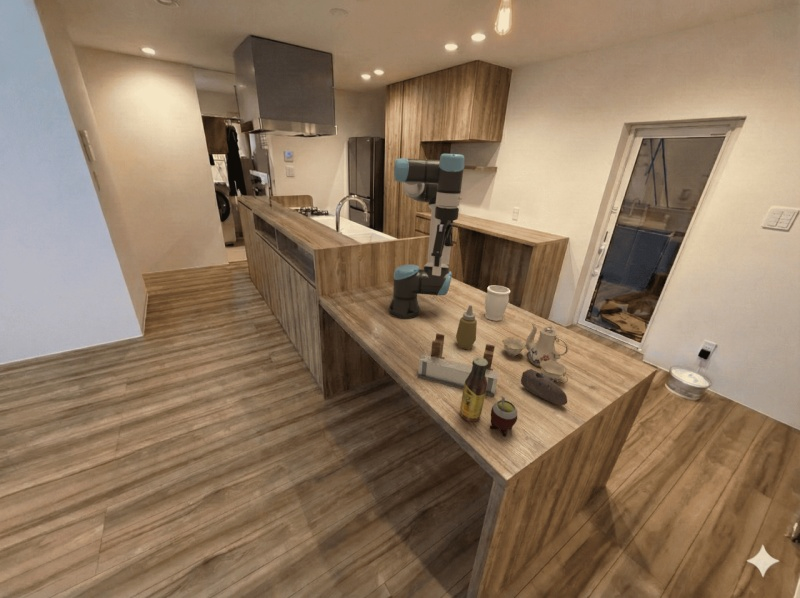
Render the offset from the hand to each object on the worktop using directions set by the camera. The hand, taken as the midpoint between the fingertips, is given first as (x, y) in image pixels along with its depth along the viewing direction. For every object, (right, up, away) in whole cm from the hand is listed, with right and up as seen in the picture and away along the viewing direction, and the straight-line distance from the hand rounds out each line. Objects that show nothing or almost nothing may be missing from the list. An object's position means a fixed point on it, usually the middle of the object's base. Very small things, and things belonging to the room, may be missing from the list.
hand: (440, 269), depth 112 cm
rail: (+5, -38, -2) cm, 39 cm away
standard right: (+16, -37, +3) cm, 41 cm away
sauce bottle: (+7, -45, -16) cm, 48 cm away
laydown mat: (+5, -39, -2) cm, 39 cm away
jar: (+32, -19, +46) cm, 59 cm away
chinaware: (+38, -35, +11) cm, 53 cm away
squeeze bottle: (+12, -30, +20) cm, 38 cm away
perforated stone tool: (+33, -43, -6) cm, 54 cm away
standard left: (-1, -34, +8) cm, 35 cm away
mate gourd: (+14, -48, -20) cm, 54 cm away
